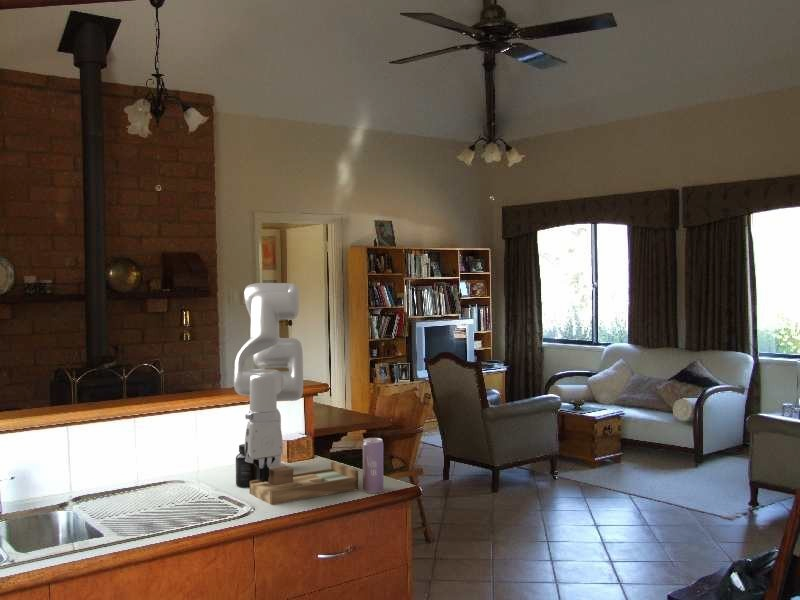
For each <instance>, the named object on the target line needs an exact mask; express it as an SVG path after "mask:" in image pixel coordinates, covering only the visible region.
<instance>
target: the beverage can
mask: <svg viewBox="0 0 800 600" xmlns="http://www.w3.org/2000/svg"><path fill="white" fill-rule="evenodd" d="M362 490H363V492H364V491H365V492H364V493H366V492H368V493H367V494H378V493H377V492H380V493H381V491H382V492H383V490H384V442H383V439H382V438H381V437H367V438H364V439H363V440H362Z"/></svg>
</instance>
